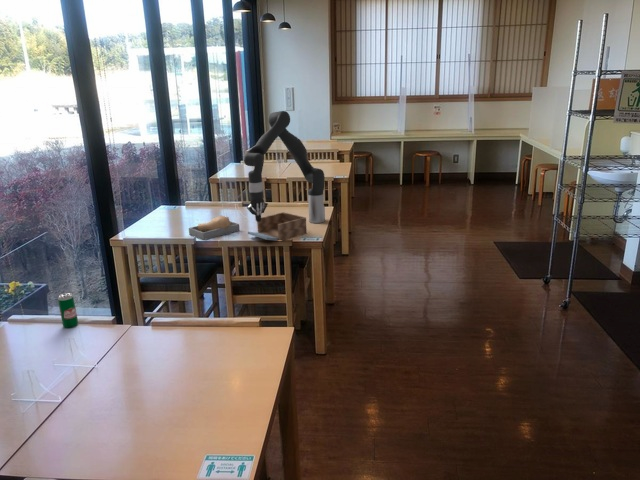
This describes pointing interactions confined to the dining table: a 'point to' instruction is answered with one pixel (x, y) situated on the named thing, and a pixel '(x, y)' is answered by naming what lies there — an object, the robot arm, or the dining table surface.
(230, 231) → the squash crate
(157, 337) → the dining table surface
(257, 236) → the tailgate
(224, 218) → the squash
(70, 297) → the soda can
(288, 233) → the box
